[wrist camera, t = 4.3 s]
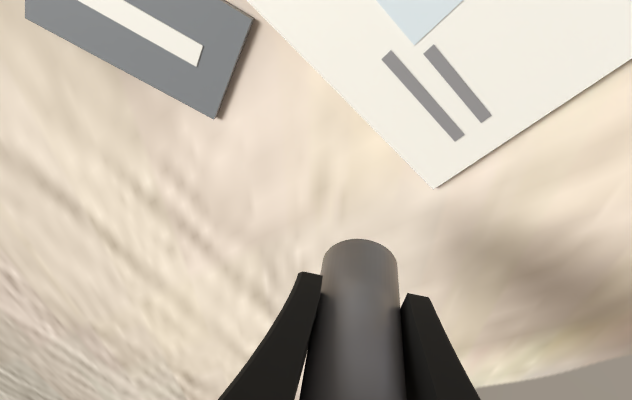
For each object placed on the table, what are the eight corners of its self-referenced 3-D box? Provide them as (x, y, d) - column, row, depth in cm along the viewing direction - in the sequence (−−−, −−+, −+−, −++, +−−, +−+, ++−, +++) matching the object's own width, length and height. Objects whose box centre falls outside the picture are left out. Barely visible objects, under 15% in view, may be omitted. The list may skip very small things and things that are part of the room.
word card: (253, 18, 15) (251, 19, 14) (216, 117, 17) (213, 120, 17) (32, -116, 13) (24, -118, 13) (30, 16, 16) (23, 18, 15)
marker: (415, 271, 12) (452, 574, 6) (356, 302, 13) (342, 575, 7) (362, 224, 11) (348, 523, 5) (305, 262, 12) (244, 534, 6)
